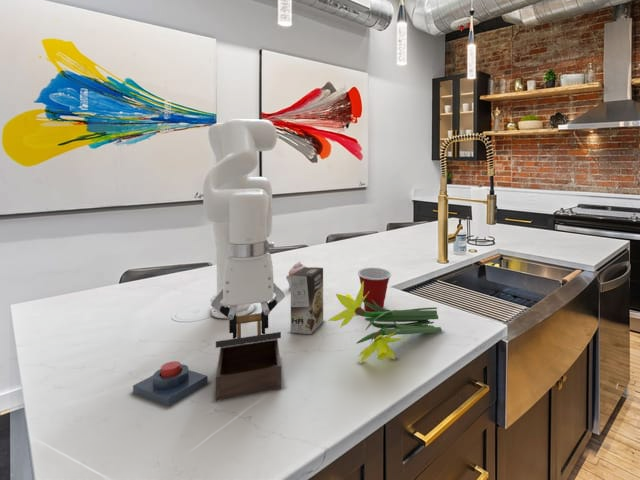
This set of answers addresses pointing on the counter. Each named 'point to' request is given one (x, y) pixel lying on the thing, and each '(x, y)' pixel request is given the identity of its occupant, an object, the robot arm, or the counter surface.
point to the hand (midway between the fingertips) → (249, 332)
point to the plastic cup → (374, 286)
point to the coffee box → (306, 300)
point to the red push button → (170, 369)
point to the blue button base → (170, 386)
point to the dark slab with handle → (249, 339)
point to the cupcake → (293, 270)
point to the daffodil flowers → (385, 315)
